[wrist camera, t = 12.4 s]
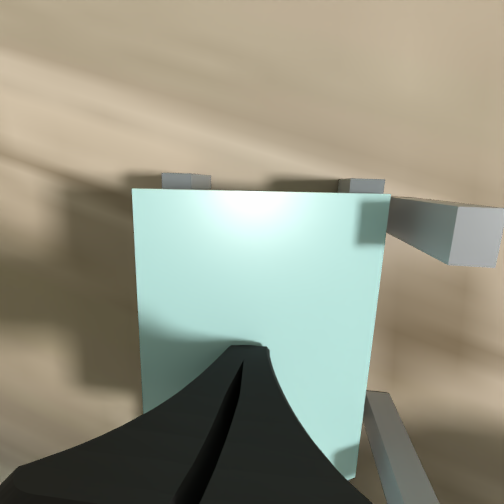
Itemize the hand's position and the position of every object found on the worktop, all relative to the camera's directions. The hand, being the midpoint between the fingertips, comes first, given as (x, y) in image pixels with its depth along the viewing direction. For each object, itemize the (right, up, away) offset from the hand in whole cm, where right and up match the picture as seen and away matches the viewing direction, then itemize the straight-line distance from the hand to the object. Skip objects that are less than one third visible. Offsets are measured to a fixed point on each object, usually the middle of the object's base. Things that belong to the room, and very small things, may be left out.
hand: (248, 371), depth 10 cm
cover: (+1, 0, +1) cm, 1 cm away
